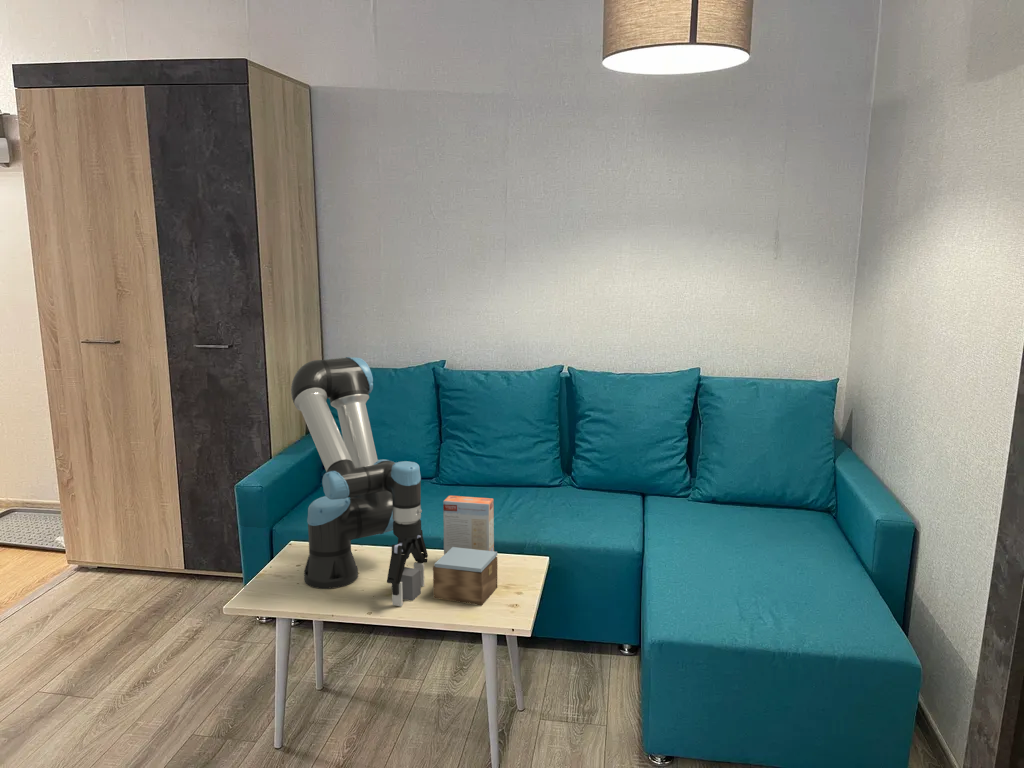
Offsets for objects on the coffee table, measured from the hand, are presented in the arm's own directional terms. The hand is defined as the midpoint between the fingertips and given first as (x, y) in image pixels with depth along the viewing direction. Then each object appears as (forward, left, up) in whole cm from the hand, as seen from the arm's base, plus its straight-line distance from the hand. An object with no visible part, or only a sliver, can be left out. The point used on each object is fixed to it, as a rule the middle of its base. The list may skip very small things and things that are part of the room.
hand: (408, 595), depth 217 cm
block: (0, 0, 0) cm, 0 cm away
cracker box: (+8, +24, 0) cm, 25 cm away
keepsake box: (+14, +7, 0) cm, 16 cm away
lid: (+14, +7, +9) cm, 18 cm away
